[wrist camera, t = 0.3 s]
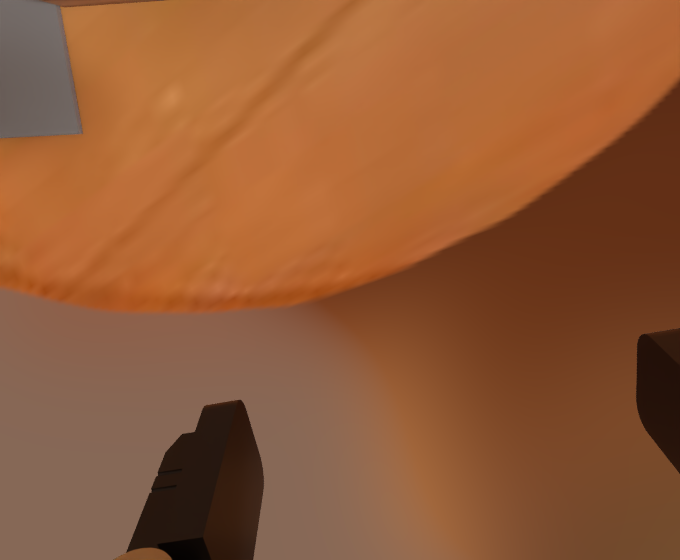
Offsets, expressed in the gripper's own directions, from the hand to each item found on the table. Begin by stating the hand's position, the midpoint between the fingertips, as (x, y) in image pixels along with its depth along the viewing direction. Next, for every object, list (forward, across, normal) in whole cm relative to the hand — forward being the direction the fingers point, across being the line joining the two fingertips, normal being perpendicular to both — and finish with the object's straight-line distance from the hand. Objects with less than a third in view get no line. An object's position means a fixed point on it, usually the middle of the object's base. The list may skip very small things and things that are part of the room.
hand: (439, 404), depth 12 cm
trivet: (+29, +21, -9) cm, 36 cm away
